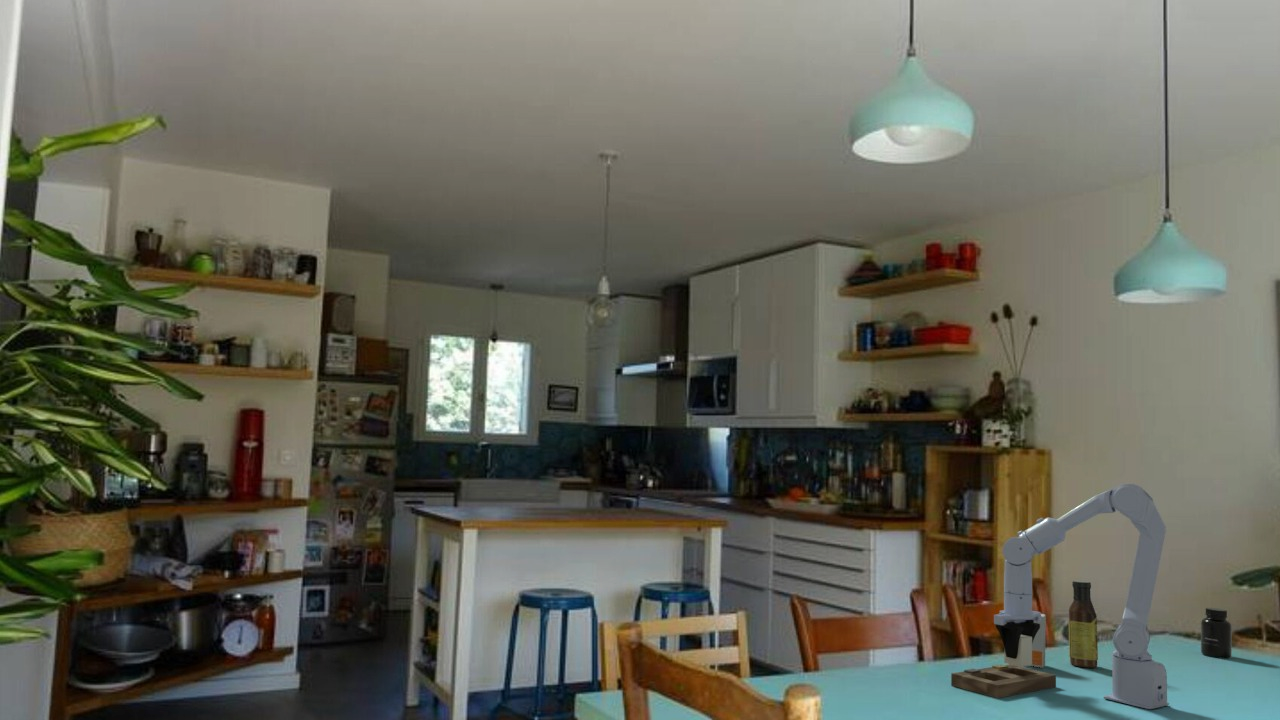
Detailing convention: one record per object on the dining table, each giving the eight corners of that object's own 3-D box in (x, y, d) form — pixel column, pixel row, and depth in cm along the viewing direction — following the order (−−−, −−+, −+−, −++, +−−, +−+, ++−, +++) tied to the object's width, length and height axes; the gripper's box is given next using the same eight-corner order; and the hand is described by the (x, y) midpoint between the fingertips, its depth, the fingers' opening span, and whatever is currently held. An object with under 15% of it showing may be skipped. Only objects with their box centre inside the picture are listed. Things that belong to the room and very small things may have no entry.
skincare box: (1016, 664, 221) (1016, 613, 222) (1018, 661, 224) (1018, 611, 226) (1044, 668, 218) (1044, 616, 219) (1045, 665, 222) (1045, 614, 223)
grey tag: (980, 672, 199) (980, 670, 199) (971, 673, 197) (971, 671, 197) (973, 670, 201) (973, 668, 201) (964, 672, 199) (964, 670, 199)
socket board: (1055, 686, 200) (1055, 674, 200) (997, 698, 188) (997, 685, 188) (1009, 675, 209) (1009, 664, 209) (951, 685, 197) (951, 673, 197)
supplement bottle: (1205, 657, 241) (1204, 609, 242) (1198, 652, 247) (1197, 606, 248) (1235, 659, 239) (1234, 612, 240) (1227, 654, 245) (1226, 608, 246)
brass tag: (1008, 667, 205) (1008, 666, 205) (999, 669, 203) (999, 667, 203) (1000, 666, 206) (1000, 664, 206) (992, 667, 205) (992, 665, 205)
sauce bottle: (1102, 669, 220) (1102, 583, 222) (1076, 668, 220) (1075, 582, 222) (1090, 663, 226) (1089, 580, 228) (1064, 662, 226) (1063, 579, 228)
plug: (1031, 665, 201) (1032, 636, 201) (1021, 666, 199) (1021, 638, 199) (1015, 661, 204) (1015, 633, 205) (1004, 662, 202) (1004, 634, 202)
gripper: (1020, 588, 210) (1020, 650, 209) (981, 591, 202) (981, 655, 201) (1049, 593, 205) (1049, 656, 203) (1011, 596, 196) (1010, 662, 195)
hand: (1017, 656), depth 202 cm, fingers closed on plug, 4 cm apart
